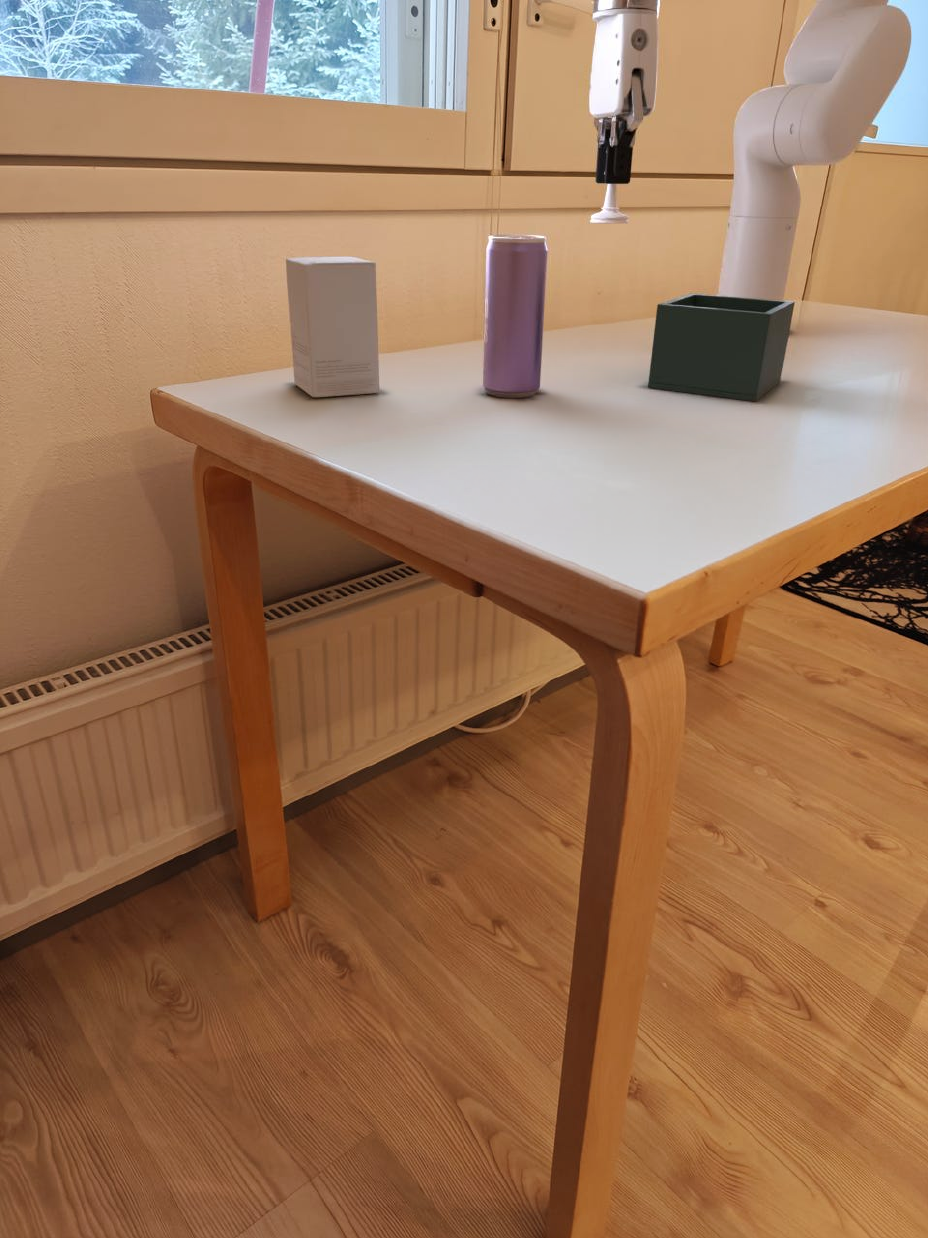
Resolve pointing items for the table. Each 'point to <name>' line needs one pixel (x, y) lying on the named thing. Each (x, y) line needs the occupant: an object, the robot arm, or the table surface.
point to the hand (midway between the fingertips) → (612, 182)
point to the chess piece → (610, 209)
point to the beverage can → (514, 314)
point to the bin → (720, 345)
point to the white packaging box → (333, 325)
